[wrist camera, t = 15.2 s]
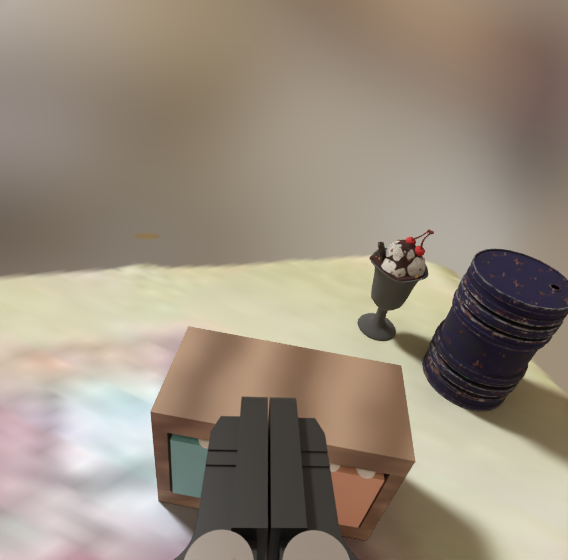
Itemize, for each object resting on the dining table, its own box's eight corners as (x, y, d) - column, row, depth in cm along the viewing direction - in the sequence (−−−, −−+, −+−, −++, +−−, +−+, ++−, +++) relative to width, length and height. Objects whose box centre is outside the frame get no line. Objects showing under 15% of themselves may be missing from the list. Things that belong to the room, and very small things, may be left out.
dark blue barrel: (413, 386, 47) (466, 282, 38) (428, 335, 54) (476, 237, 45) (504, 427, 44) (585, 325, 35) (507, 367, 52) (574, 270, 43)
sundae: (412, 337, 53) (457, 238, 44) (372, 351, 50) (412, 248, 41) (380, 305, 58) (415, 209, 49) (341, 316, 55) (371, 216, 46)
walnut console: (158, 501, 33) (150, 411, 26) (188, 416, 40) (188, 326, 33) (366, 540, 33) (415, 461, 26) (362, 449, 40) (401, 365, 33)
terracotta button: (294, 517, 32) (311, 466, 27) (301, 444, 37) (316, 391, 32) (357, 529, 32) (385, 480, 27) (356, 455, 36) (379, 403, 32)
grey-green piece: (172, 493, 32) (169, 439, 27) (195, 424, 37) (196, 369, 32) (235, 505, 32) (242, 453, 27) (249, 435, 37) (258, 381, 32)
